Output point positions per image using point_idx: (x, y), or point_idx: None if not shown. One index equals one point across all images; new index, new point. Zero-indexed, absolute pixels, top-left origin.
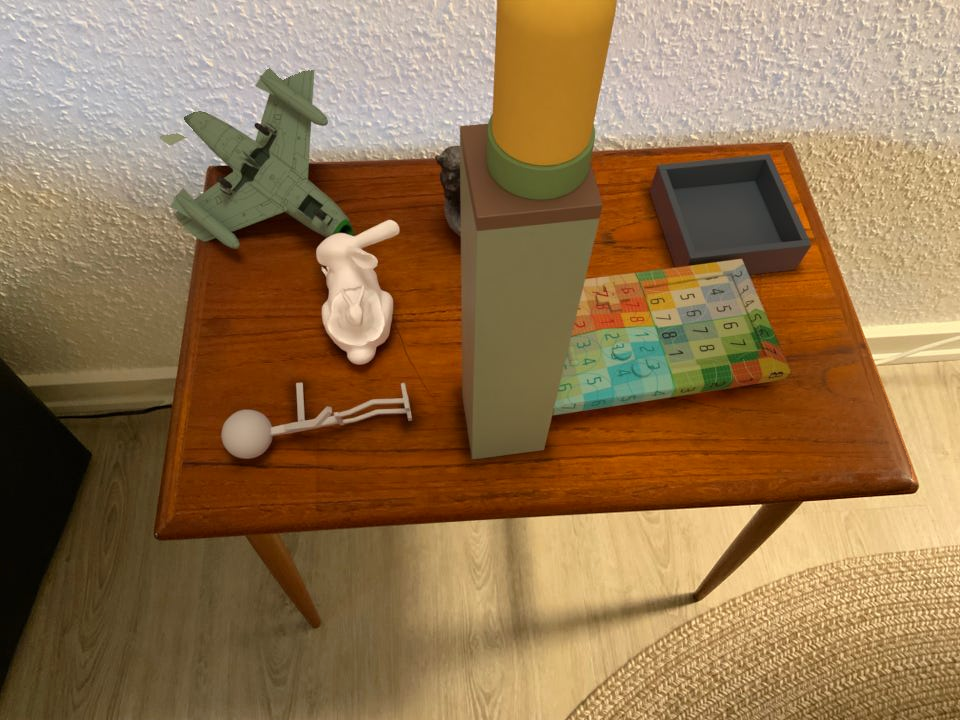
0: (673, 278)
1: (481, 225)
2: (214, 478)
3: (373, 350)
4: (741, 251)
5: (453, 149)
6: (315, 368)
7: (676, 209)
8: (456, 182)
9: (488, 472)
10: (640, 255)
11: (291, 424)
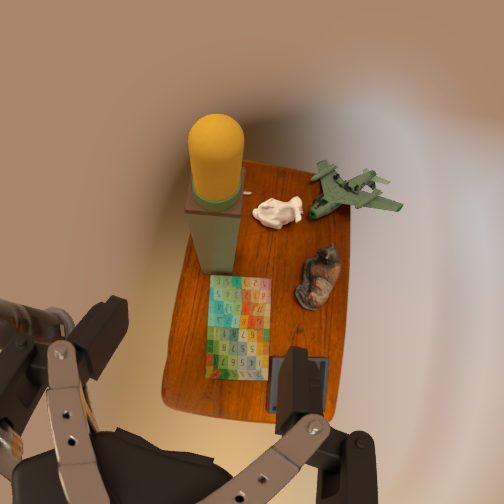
0: (262, 345)
1: None
2: None
3: (257, 217)
4: (271, 381)
5: (334, 251)
6: (257, 200)
7: None
8: (321, 253)
9: None
10: (288, 343)
11: None
